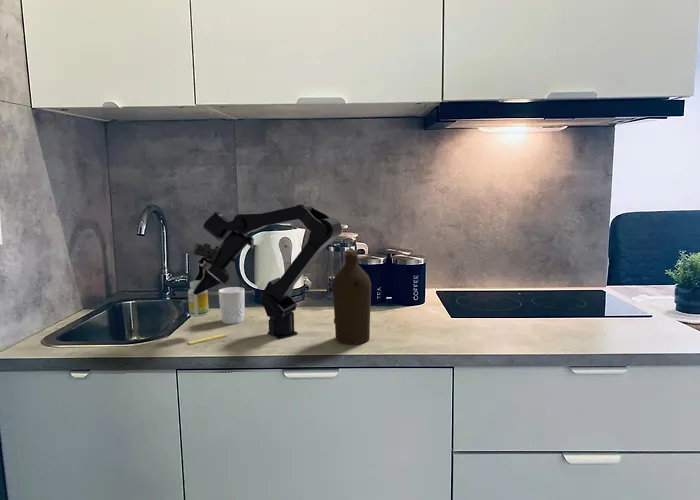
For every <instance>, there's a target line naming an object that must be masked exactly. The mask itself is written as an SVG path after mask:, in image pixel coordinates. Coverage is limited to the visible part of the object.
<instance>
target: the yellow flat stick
mask: <svg viewBox="0 0 700 500" xmlns="http://www.w3.org/2000/svg"><path fill="white" fill-rule="evenodd" d="M227 336H228V335H227V334H226V333H221V334H217V335H212V336H208V337H204V338H203V337H202V338H199V339H195V340H191V341H188V342H187V344H189V345H190V346H191V345H196V344H199V343H203V342H207V341H211V340H212V341H213V340H216V339H219V338H225V337H227Z"/></svg>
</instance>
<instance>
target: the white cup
mask: <svg viewBox="0 0 700 500" xmlns="http://www.w3.org/2000/svg"><path fill="white" fill-rule="evenodd" d="M218 299H219V300H218V301H219V308H220V310H219V311H220V314H221V322H222V323H223V324H227V325H233V324H240V323H243V322H244V321H245V288H244V287H239V286H238V287H237V286H232V287H231V286H230V287H224V288H220V289H219V290H218Z"/></svg>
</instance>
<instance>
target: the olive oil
mask: <svg viewBox="0 0 700 500" xmlns="http://www.w3.org/2000/svg"><path fill="white" fill-rule="evenodd" d="M344 258H345V259H344V260H345V261H344V262H345V264H344V265H343V266H342V268H341V269H340V270H338V271H337V273H336V274H335V275H334V277H333V280H332V281H333V282H332V298H333V299H332V300H333V312H334V313H333V315H334V319H333V324H334V328H335V341H336V342H338V343H340V344H344V345H353V346H354V345H361V344H365V343H367V342H369V340H370V337H371V336H370V335H371V334H370V333H371V332H370V331H371V330H370V328H371V326H370V325H371V306H372V305H371V303H372V302H371V300H372V282H371V279H370V276H369V274H368V273H367V272H366V271H365V270H364V269H363V268H362V267H361V266H360V265H359V263H358V262H359V261H358V260H359V257H358V250H357V249H345V255H344Z"/></svg>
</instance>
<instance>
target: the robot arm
mask: <svg viewBox="0 0 700 500" xmlns="http://www.w3.org/2000/svg"><path fill="white" fill-rule="evenodd" d="M294 220H299V221H300V222H301V223H302V224H303V225H304V227H305V228H306V229H307V230H309V231H310V232H309V233H308V239H307V242H306V244H305V245H304V247H302V249H301V251H299V253H298V254H297V256H296V257H295V258H294V260H293V261H292V263H290V265H289V267H287V269H286V270H285V272H284V273H283V274H282V276H281V277H277V278H275V279H272V280H269V281H268V282H267V284H266V286H265V287H264V289H262V290H261V291H260V292H261V293H262V294H260V295H261V296H260V302H261V305H262V307H263V308H264V310H265V313H266V316H267V317H269V319H268V331H267V335H269V336H271V337H274V338H276V339H279V340H280V339H283V338H287V337H291V336H295V335H296V336H297V335H298V334H299V333H298V331H296V330H295V311H296V310H297V307H298V303H297V302H296V301H295V300H294V299H293V298H292V294H293V291H294V287H295V285H296V284H297V282H298V281H299V280H300V278H301V277H302V276H303V274H304V273H305V272H306V271H307V269H308V268H309V267H310V265H311V264H312V263H313V261H314V260H315V259H316V258H317V256H318V255H319V254H320V252H321V251H322V250H323V249H325V248H326V247H327V246H328V245H330V244H331V243H332V242H333V241H334V240H336V239H337V238H338V237H339V236H340V235H341V233H342V231H343V229H342V225H341V224H342V223H341V222H340V221H339V219H337V218H335V217H330V216H329V215H328V214H326V213H325V212H322V211H320V210H318V209H317V208H315V207H313V206H312V205H310V204H309V203H300V204H296V205H295V206H290V207H286V208H285V207H284V208H281V209H275V210H271V211H267V212H260V211H258V212H257V211H255V212H252V211H251V212H246V213H245V212H243V213H239V214H236V215H235V216H234V218H233V219H232V220H229V219H228V218H226V216H224V215H223V214H222V213H221V212H220V211H214V212H213V214H212V215H210V217H208V219H207V220H205V221H204V224H203V225H202V229H203V230H204V231H206V232H207V233H208V234H209V235H211V236H212V237H213V238H214V239H215V240H217V241H219V242H221V241H222V242H221V243H220V245H219V244H217V245H215V246H214V247H212V245H211V244H210V243H206V242H204V243H200V242H196V241H195V242H194V244H193V246H192V249H191V253H192V254H193V255H195V256H199V257H198V258H197V259H196V262H198V263H196V265H197V273H196V276H195V277H194V279H193V281H196V280H200V282H199V283H198V285H197V287H196V288H195V290H194V291H193V293H194V294H195V295H197V294H199V293H201V292H203V291H205V290H207V291H208V290H209V289H211V288H213V287H215V286H218V285H221V284H222V283H223V284H224V285H226V284H227V282H228V281H229V280H230V273H228V272H227V268H229V266H230V265H231V264H232V263H235V262H236V261H237V259H236V258H237V257H238V256H239V254H241V253H242V252H243V250H244V249H245V248H246V246H247V245H248V246H249V247H250V248H251V249H254V248H255V243H254V241H255V239H254V236H248V235H246V234H251V233H255V232H258V231H260V230H262V229H264V228H267V227H268V226H270V225H271V226H272V225H275V224H276V225H277V224H280V223H285V222H290V221H294ZM189 289H191V287H190V286H189Z"/></svg>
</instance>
